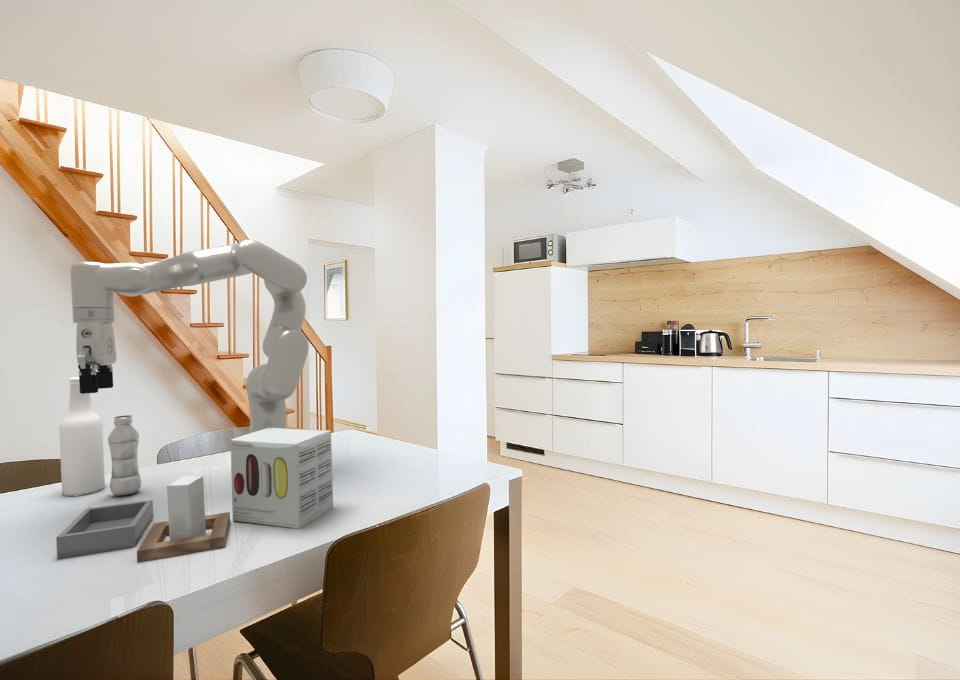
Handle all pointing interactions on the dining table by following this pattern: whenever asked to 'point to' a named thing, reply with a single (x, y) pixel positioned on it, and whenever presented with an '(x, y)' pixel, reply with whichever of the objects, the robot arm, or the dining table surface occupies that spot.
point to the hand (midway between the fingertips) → (97, 390)
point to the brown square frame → (158, 549)
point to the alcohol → (81, 445)
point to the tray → (105, 529)
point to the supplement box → (281, 476)
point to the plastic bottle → (124, 457)
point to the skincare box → (186, 507)
